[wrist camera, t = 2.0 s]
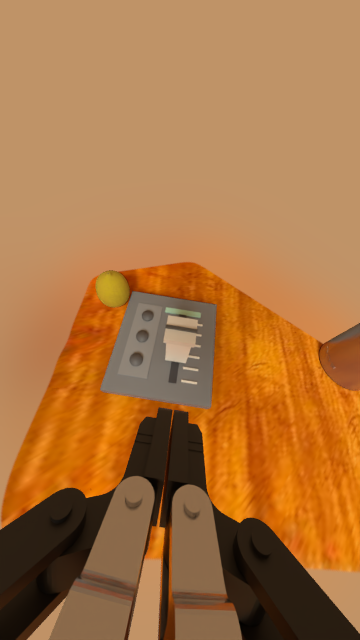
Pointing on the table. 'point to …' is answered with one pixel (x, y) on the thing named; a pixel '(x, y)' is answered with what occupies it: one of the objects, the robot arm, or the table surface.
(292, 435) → the table surface
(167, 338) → the fader knob
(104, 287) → the lemon
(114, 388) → the console
